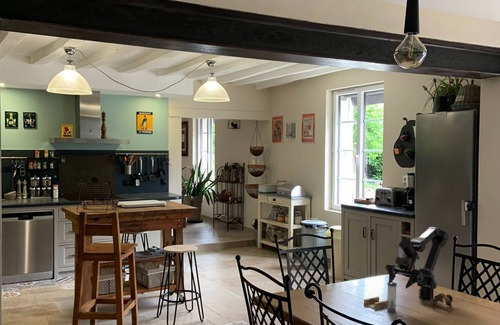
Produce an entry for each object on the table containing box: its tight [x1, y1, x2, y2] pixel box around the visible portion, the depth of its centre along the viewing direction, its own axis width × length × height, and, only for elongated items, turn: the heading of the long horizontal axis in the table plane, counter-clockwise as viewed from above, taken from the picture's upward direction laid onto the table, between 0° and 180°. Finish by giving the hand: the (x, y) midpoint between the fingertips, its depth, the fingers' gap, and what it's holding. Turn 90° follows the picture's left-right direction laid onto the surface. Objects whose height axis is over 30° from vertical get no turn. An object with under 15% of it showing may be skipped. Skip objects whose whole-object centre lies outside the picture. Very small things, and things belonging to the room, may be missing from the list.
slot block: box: [363, 296, 387, 310], centre depth 250 cm, size 10×8×3 cm
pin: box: [386, 281, 398, 314], centre depth 241 cm, size 4×4×14 cm
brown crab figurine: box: [430, 292, 454, 312], centre depth 250 cm, size 12×10×8 cm
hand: (397, 286), depth 245 cm, fingers open, 9 cm apart
